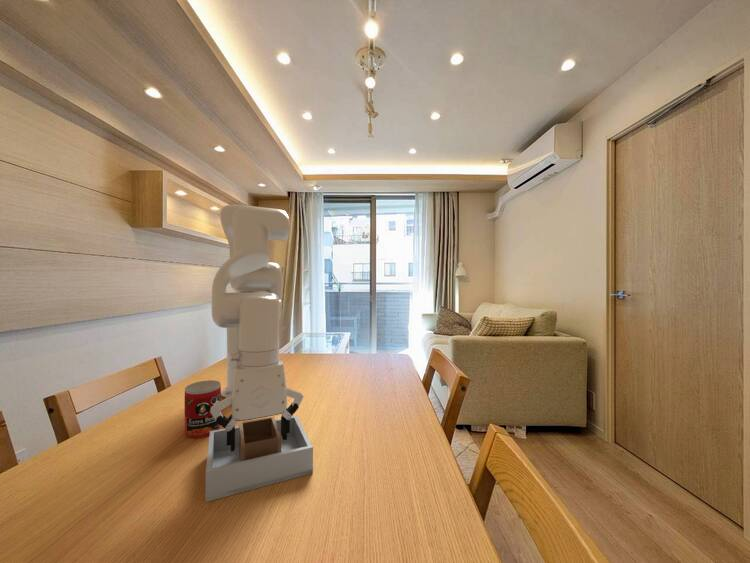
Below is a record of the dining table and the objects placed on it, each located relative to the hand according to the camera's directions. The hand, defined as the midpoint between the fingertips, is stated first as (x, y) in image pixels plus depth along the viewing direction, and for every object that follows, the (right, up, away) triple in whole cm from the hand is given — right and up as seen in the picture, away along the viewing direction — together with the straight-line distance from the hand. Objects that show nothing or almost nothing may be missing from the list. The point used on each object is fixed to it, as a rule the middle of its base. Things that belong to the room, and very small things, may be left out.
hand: (259, 442), depth 62 cm
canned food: (-19, -4, +13) cm, 23 cm away
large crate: (0, -4, 0) cm, 4 cm away
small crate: (0, -4, 0) cm, 4 cm away
